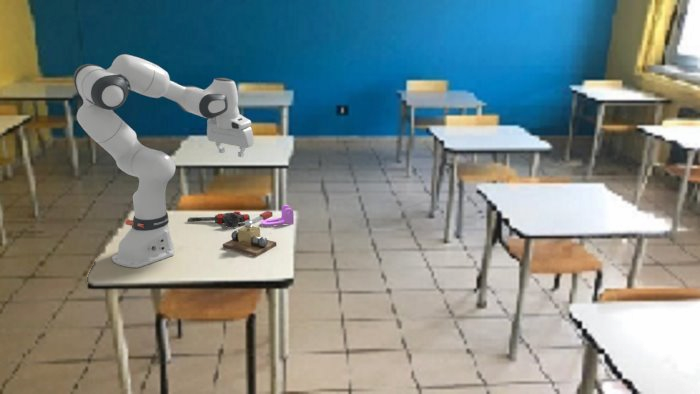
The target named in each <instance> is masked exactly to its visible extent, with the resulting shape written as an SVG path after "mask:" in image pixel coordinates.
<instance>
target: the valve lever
mask: <svg viewBox="0 0 700 394" xmlns="http://www.w3.org/2000/svg"><path fill="white" fill-rule="evenodd" d="M272 217H273V211H269V210H266V211H264V212H262V213H260V214H259V216H257V217H255V218H252V219H250V220H246V221H245V222H244V226H245V227H246V228H251V227H252V226H253V225H255V224H257V223H259V222H261V221H263V220H266V219H271V218H272Z"/></svg>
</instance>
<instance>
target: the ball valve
mask: <svg viewBox="0 0 700 394" xmlns="http://www.w3.org/2000/svg"><path fill="white" fill-rule="evenodd" d="M230 237H231V240H232V239H233V240H235V241H238V242H239V244H242V245H246V246H250V247H252V246H254V245H258V246H259V247H262V248H264V247H266V246H267V244H268V240H269V239H267V238H266V237H264V236H261V228H260V227H257V226H252V227H251V228H246V227H245V225H244V226H243V227H240V228H238V229H237V230H234V231H232V233H231V236H230Z"/></svg>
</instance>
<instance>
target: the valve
mask: <svg viewBox="0 0 700 394" xmlns="http://www.w3.org/2000/svg"><path fill="white" fill-rule="evenodd" d="M246 220H251V217H250V215H249V214H247V213H244V214H242V213H241V211H234V212H226V213H218V214H216V215H214V216H201V217H200V216H199V217H198V216H196V217H195V216H193V217H188V218H187V222H212V221H213V222H214V223H216V224H218V225H224V226H225V227H226V228H228V227H235V228H237V227H238V226H239V224H242V223H245V221H246ZM223 223H224V224H223Z"/></svg>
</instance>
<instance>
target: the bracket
mask: <svg viewBox="0 0 700 394" xmlns="http://www.w3.org/2000/svg"><path fill="white" fill-rule="evenodd" d="M280 213H281V217H276V218H275V217H274V218H268V219H266V220H261V221H260V225H261V226H262V225H263V226H262V227H264V226H272V227H275V226H274V225H280V226H284V225H283V224H289V225H294V224H295V223H294V221H295V220H294V210H293V209H292V208H291V207H290V205H288V204H284V205H282V206H281V212H280ZM293 223H294V224H293Z"/></svg>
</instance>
